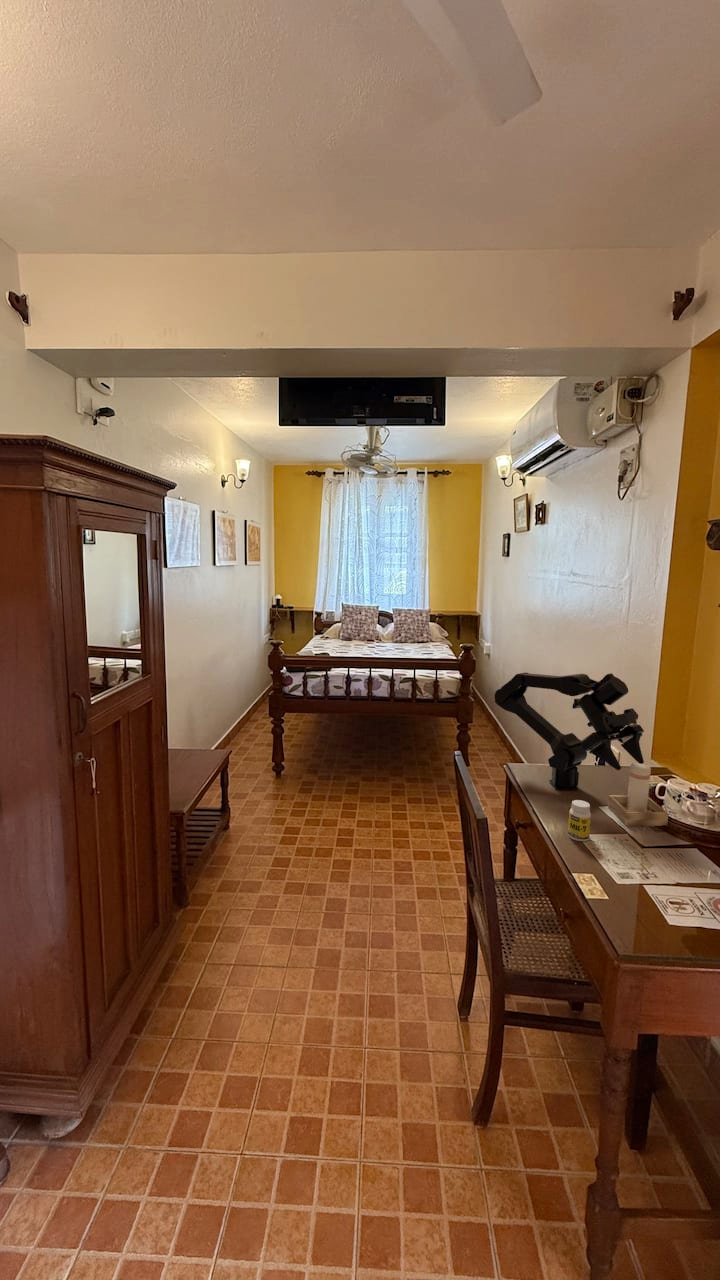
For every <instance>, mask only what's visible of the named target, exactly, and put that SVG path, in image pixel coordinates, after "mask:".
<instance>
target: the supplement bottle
mask: <svg viewBox="0 0 720 1280" xmlns="http://www.w3.org/2000/svg"><path fill="white" fill-rule="evenodd" d="M590 810H591V805H590V803H589V802H587V801H585V800H581V799H575V800H572V802H571V808H570V809H569V813H568V829H567V836H568V837H569V838H570V839H572V840H573V841H578V842H586V841H588V840H589V839H590V834H591V833H590V831H591V819H592V814H591V813H592V812H591V811H590Z"/></svg>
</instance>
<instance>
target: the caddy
mask: <svg viewBox="0 0 720 1280" xmlns="http://www.w3.org/2000/svg"><path fill="white" fill-rule="evenodd" d="M627 800H628V795H618V794H617V795H614V794H613V795H611V794H609V795H608V801H607V809H608V810H610V812H612V814H613V815H614V816H615V817H616V818H617V819H618V820H619V821H620V822H621V823H622V824H623V825H624V826H625V827H651V828H653V827H654V826H662V825H667V826H668V820H669V812H667V811H666V810H664V808H663V807H661V806H660V805H659V804H658V803H656V802H655V801H654V800H653V799H652V798H651V797H650V796H648V804H647V812H628V811H627ZM651 809H653V810H654V811H655V812H649V811H651ZM654 828H655V827H654Z"/></svg>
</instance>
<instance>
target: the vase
mask: <svg viewBox="0 0 720 1280" xmlns="http://www.w3.org/2000/svg"><path fill="white" fill-rule="evenodd" d="M651 768H652V767H650V766H649V765H648V764H645V763H643V764H639V763H638V762H637V763H631V764H630V765H629V779H628V780H629V781H628V791H627V796H628V800H627V811H628V812H647V804H648V797H649V791H650V781H651V772H652V770H651Z"/></svg>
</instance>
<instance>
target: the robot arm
mask: <svg viewBox="0 0 720 1280" xmlns="http://www.w3.org/2000/svg"><path fill="white" fill-rule="evenodd" d="M528 688H535V689H536V688H537V689H547V690H554V691H557V692H559V693H561V694H563V695H566V696H568V697H569V696H570V697H576V696H577V697H578V696H581V695H582V696H581V697H580V698H574V699H573V704H572V706H571V707H572V709H581V710H582V713H584V715H585V717H586V718H587V720H588V723H587V725H586V726H587V727H589V728H591V727H592V728H593V729H594V732H591V733H590V734H589V735H588V736H586V737H585V738H583V739H582V740H581V739H579V738H578V737H577V735H576V734H575V733H573V732H571V733H567V734H563V732H561V731H560V730H559V729H557V728H556V726H554V725H553V724H551V722H549V721H548V720H547V719H546V718H544V717H543V715H541V714H540V713H539V712H537V711H536V709H534V708H533V707H532V706H531V705H530V704H529V703H528V701H527V699H526V696H525V695H524V694H526V692H527V690H528ZM590 692H591V693H590ZM589 693H590V694H589ZM628 693H629V688H628V686H627V684H626V682H624V681H622V679H620V678H618V677H617V676H615V675H614V674H613V673H607V674H606V675H604V676H603V678H602V679H600V680H599V681H597V680H595V679H592V678H590V677H589V675H588V674H586V673H576V674H568V675H553V674H552V675H550V674H539V673H538V674H537V673H529V672H520V673H516V674H515V675H514V676H513V677H512V678H511V679H510V680H509V681H507V682H506V683H505V684H504V685H502V687H500V688H498V689H496V691H495V692H494V697H493V698H494V703H495V704H496V705H497V706H498V707H499V708H501V709H503V710H504V711H506V712H509V713H511V714H514V715H516V716H517V717H518V718H519V719H520V720H521V721H523V722H524V723H525V724H526V725H527V726H528V727H530V729H532V730H533V731H534V732H535V733H536V735H538V736H540V738H542V740H544V741H545V742H546V743H547V744H548V745H549V746H550V749H551V751H552V756H551V757H549V758H548V759H547V761H548V765H549V767H550V768H551V779H549V781H550V782H549V783H550V784H551V786H554V787H553V788H554V789H555V790H556V791H579V781H580V779H579V777H580V773H579V771H578V770H579V769H578V766H581V765H582V763H583V762H584V761H585V760H586V758H587V756H588V753H589V754H592V755H594V756H595V757H596V758H598V759H600V760H602V761H604V762H605V763H606V764H608V765H609V766H611V767H612V768H613V769H615V770H616V771H620V770H621V769H622V767H621V764H620V763H619V760H618V759H617V757H616V755H615V753H614V751H613V749H612V741H618V742H619V743H621V744H620V746H621V747H622V748H623V749H624V750H625V751H626V752H627V753H628V754H629V755H630V756H631V757H632V758H633V759H634V760H635V761H636V762H637V763H639V764H645V761H644V758H643V757H644V756H643V754H642V753H643V752H642V749H641V746H640V745H641V744H640V740H641V737H643V733H644V732H645V730H644V729H643V727H642V726H641V724H638V721H637V720H638V719H639V714H638V713H637V711H636V710H635V709H634V708H626V709H624V710H623V713H620V714H617V713H616V712H615V711H613V710H610V711H609V710H608V708H607V705H608V706H612V705H613V704H614V703H616V702H617V701H619V700H620V699H622V698H623V697H624V696H626V695H627V694H628Z"/></svg>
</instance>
